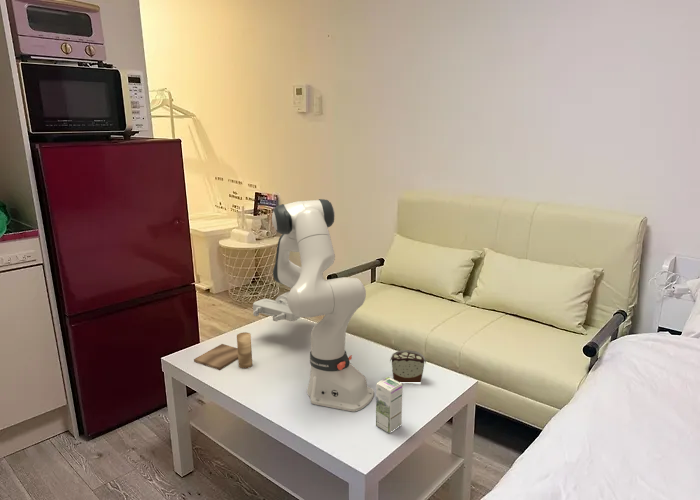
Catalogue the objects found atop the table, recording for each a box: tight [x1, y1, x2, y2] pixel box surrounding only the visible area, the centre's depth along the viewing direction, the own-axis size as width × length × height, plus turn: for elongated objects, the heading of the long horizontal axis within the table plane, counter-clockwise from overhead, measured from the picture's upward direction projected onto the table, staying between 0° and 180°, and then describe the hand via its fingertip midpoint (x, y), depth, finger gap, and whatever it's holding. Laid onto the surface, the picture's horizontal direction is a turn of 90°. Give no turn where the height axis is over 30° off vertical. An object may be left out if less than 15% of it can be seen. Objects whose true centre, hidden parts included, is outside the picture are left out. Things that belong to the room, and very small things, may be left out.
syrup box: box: [375, 376, 404, 434], centre depth 149 cm, size 6×6×14 cm
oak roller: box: [236, 332, 253, 369], centre depth 185 cm, size 5×5×12 cm
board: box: [193, 343, 238, 371], centre depth 192 cm, size 13×15×1 cm
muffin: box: [389, 349, 427, 383], centre depth 176 cm, size 12×6×10 cm, turn 84°
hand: (264, 316), depth 193 cm, fingers open, 8 cm apart
